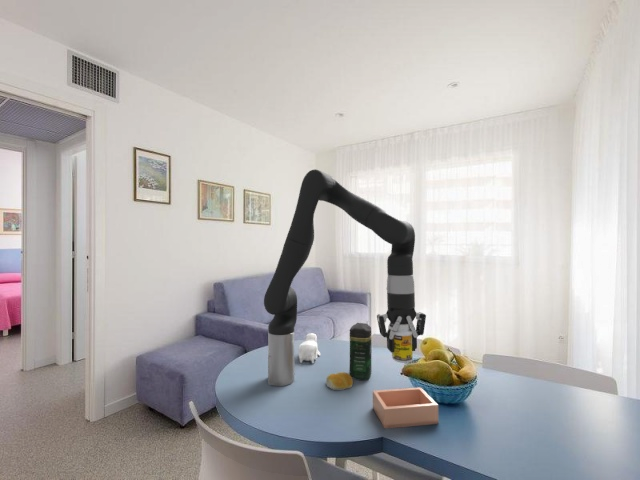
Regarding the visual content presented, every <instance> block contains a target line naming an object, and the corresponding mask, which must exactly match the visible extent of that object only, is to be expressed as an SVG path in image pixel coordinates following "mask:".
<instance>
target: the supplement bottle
mask: <svg viewBox="0 0 640 480" xmlns="http://www.w3.org/2000/svg"><path fill="white" fill-rule="evenodd" d="M393 339H394V352H392V353H391V357H392V360H393V361H394V362H397V363H401V364H402V363H403V364H406V363H407V364H408V363H410V362H412V360H413V351H412V332H411V331H410V330H409V325H408V324H399V326H398V329H397V331H396V332H395V335H394V337H393Z"/></svg>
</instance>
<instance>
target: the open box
mask: <svg viewBox="0 0 640 480" xmlns="http://www.w3.org/2000/svg"><path fill="white" fill-rule="evenodd" d="M372 409H373V410H374V413H375V414H376V416H377V418H378V419H379V421H380V423H381V425H382V426H383V428H384V429H396V428H405V427H406V428H407V427H417V426H428V425H438V424H439V404H438V403H437V401H435V400H434V399H433V398H432V397H431V396H430V395H429V394H428V393H427V392H426V390H424V389H423V388H422V387H408V388H395V389H394V388H393V389H381V390H379V389H377V390H372Z"/></svg>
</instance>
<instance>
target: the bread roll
mask: <svg viewBox="0 0 640 480" xmlns="http://www.w3.org/2000/svg"><path fill="white" fill-rule="evenodd" d="M325 383H326V386H327V388H329V389H331V390H333V391H335V390H336V391H342V390H346V389H350V388H352V387H353V383H354V382H353V378H352V377H351V376H350V373H347V372H344V371H343V372H337V373H331V374H329V375H328V376H327V377H326V380H325Z"/></svg>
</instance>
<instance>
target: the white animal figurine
mask: <svg viewBox="0 0 640 480" xmlns="http://www.w3.org/2000/svg"><path fill="white" fill-rule="evenodd" d="M320 356H321V352H320V351H319V349H318V337H317V334H315V333H312V332H311V333H307V334H306V336H305V341H303V342H301V344H299V346H298V359H299V363H300V364H302V363H303V361H306V362H309V361H311V364H315V360H316V359H318V357H320Z"/></svg>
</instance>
